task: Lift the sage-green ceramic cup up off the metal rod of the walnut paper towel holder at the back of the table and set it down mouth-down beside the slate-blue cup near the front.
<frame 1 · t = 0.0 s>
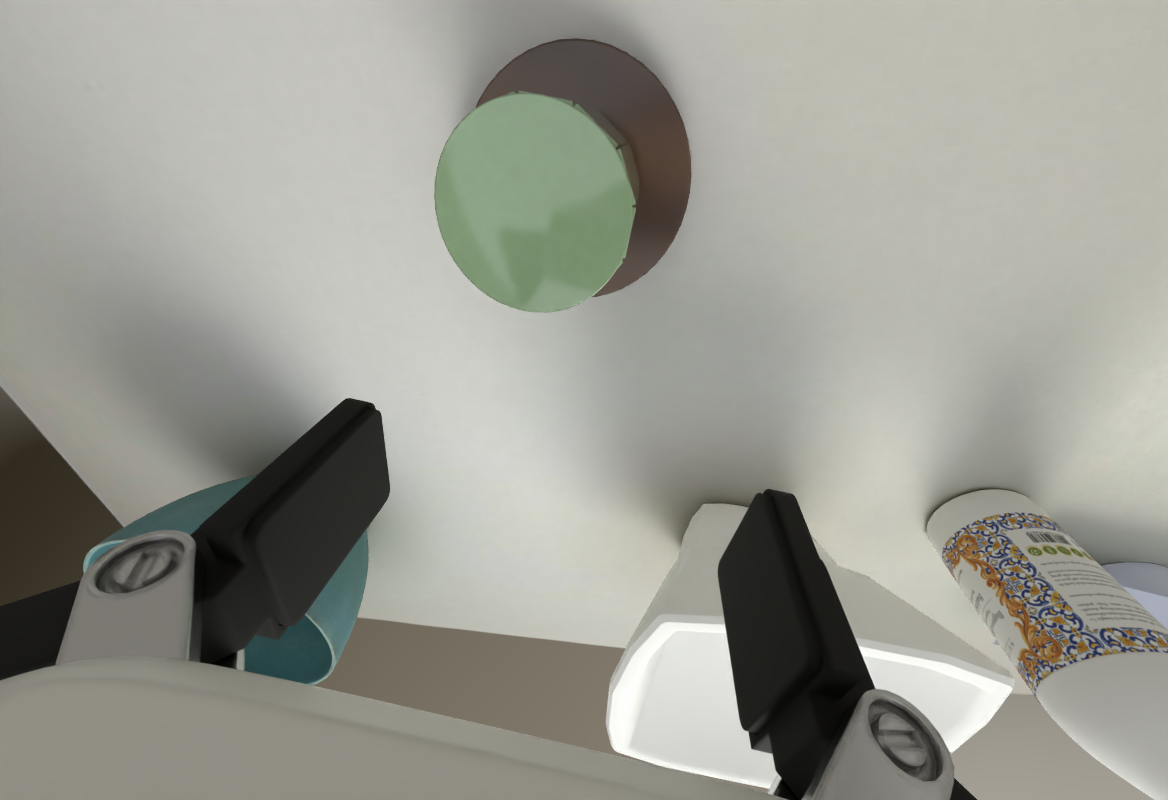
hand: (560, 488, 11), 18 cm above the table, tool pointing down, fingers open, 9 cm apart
bath foam: (974, 517, 32), on the table
towel holder: (577, 184, 23), on the table
wedge on round base: (1080, 590, 35), on the table
green cup: (569, 190, 21), point 3 cm above the table, touching towel holder
plant pot: (322, 501, 41), on the table
bowl: (734, 532, 36), on the table
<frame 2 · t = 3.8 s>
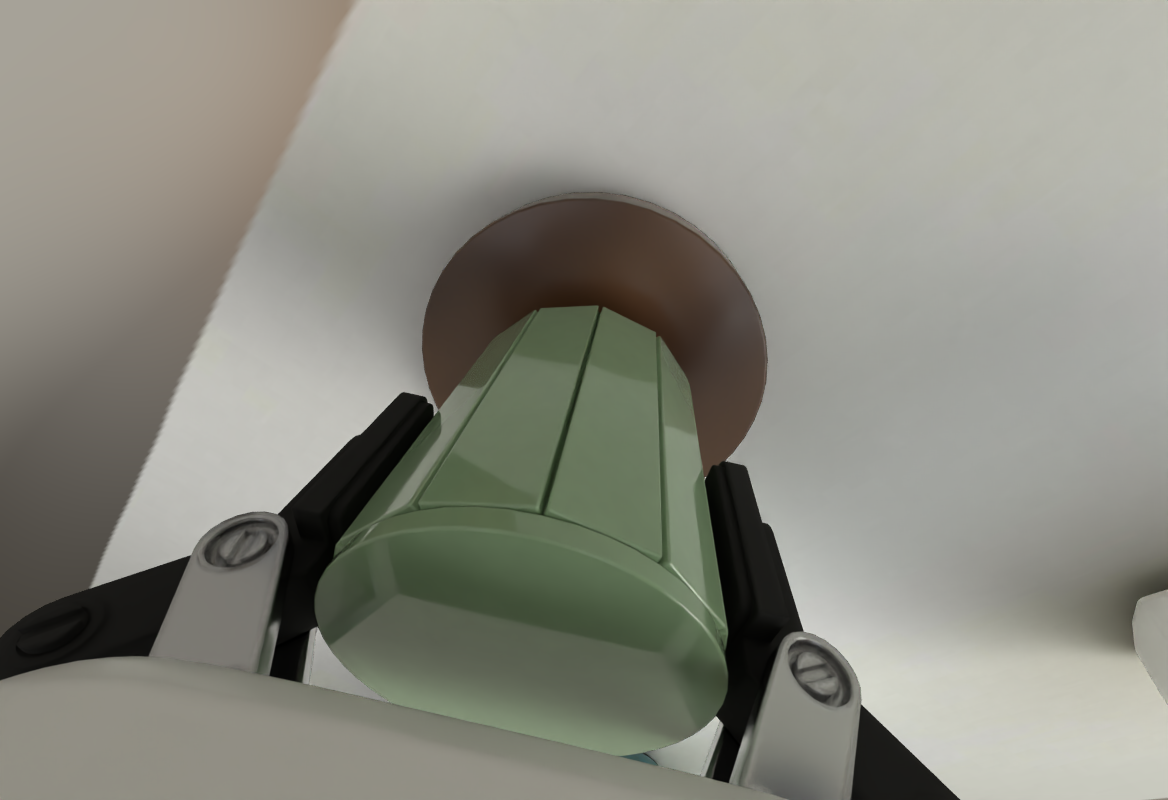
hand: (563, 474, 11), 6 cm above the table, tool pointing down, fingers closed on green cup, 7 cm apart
towel holder: (591, 366, 16), on the table
green cup: (580, 407, 14), point 3 cm above the table, touching gripper, towel holder
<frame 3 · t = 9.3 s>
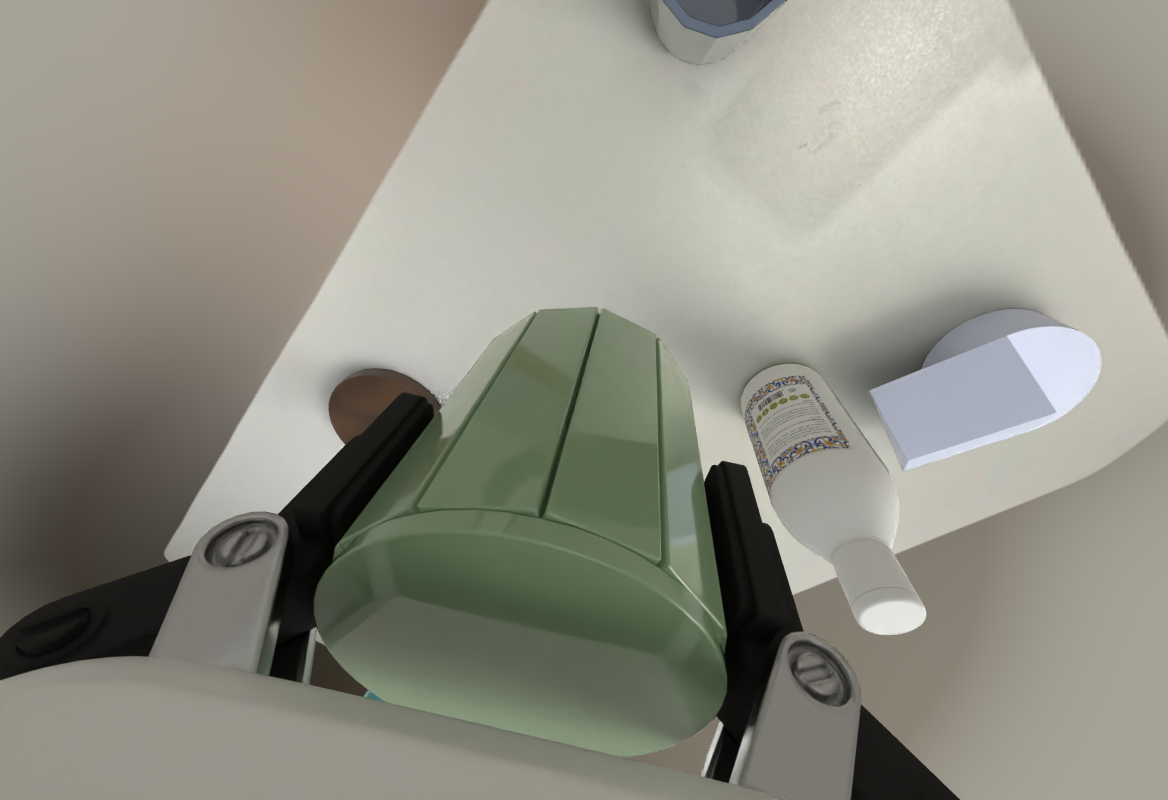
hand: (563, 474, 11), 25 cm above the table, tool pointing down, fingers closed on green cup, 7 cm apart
bath foam: (780, 395, 37), on the table
towel holder: (394, 419, 44), on the table
wedge on round base: (955, 374, 34), on the table
green cup: (580, 408, 14), point 22 cm above the table, touching gripper
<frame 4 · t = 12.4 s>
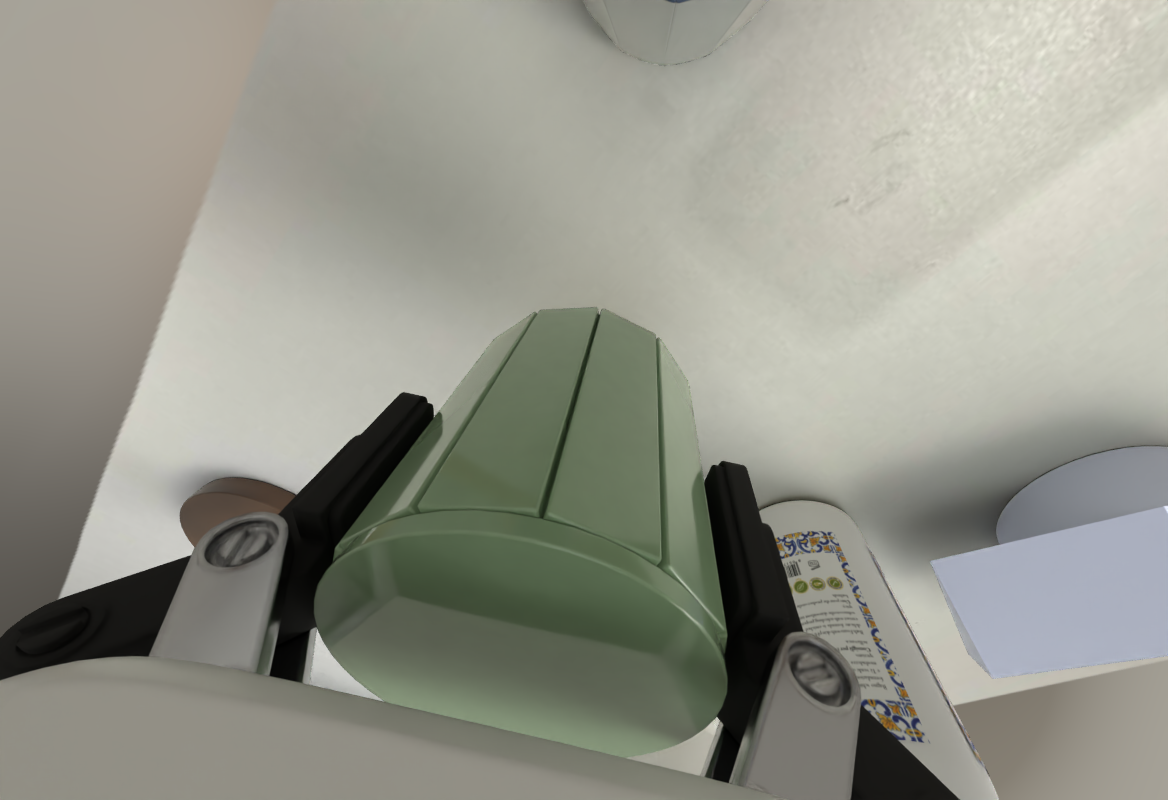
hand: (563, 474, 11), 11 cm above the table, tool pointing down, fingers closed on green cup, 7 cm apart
bath foam: (792, 534, 26), on the table
towel holder: (275, 534, 33), on the table
wedge on round base: (1049, 522, 23), on the table
green cup: (580, 408, 14), point 8 cm above the table, touching gripper
bowl: (631, 644, 35), on the table
when the fingers open (3 cm above the table, at t = 14.7 s): green cup stays where it is, on the table.
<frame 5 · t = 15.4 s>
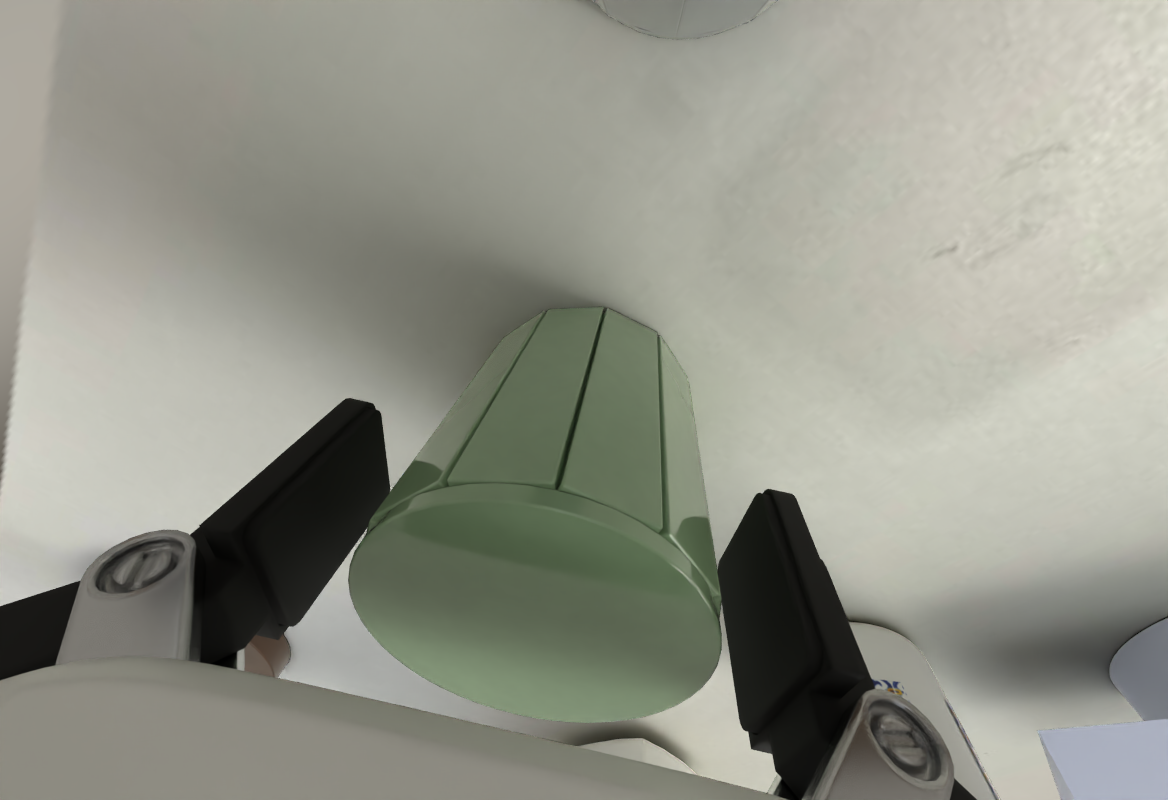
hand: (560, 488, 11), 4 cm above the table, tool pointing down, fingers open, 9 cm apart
bath foam: (835, 654, 20), on the table
towel holder: (200, 622, 27), on the table
green cup: (585, 403, 14), on the table
bowl: (629, 751, 29), on the table
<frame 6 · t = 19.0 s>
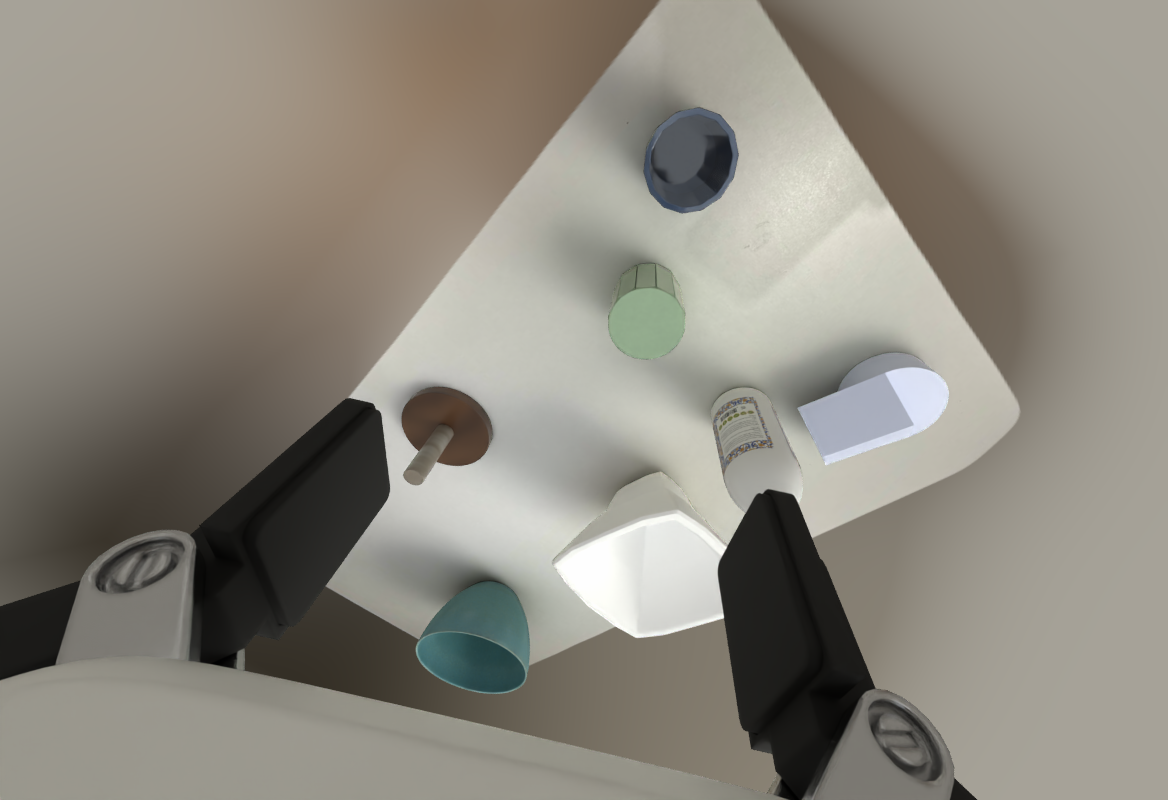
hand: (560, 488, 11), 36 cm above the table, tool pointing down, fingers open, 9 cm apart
bath foam: (740, 409, 50), on the table
towel holder: (449, 424, 57), on the table
wedge on round base: (861, 396, 47), on the table
green cup: (646, 296, 44), on the table
plant pot: (494, 593, 78), on the table
bowl: (653, 494, 59), on the table
blue cup: (682, 157, 37), on the table
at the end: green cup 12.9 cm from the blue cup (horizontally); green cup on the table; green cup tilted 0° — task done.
